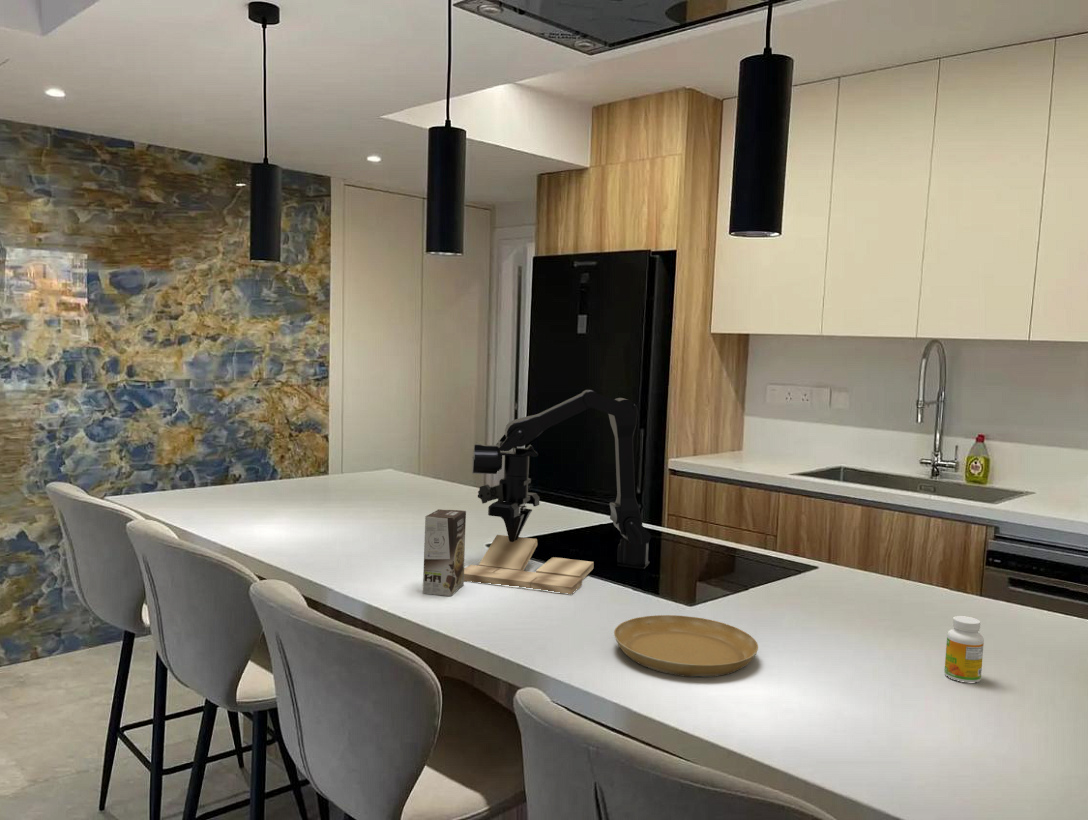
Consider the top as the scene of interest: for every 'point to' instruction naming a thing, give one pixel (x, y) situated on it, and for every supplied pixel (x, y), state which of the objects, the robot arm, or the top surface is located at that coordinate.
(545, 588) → the laid section
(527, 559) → the far plank
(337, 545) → the top surface
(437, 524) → the coffee box
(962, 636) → the supplement bottle
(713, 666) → the plant saucer
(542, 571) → the near plank
